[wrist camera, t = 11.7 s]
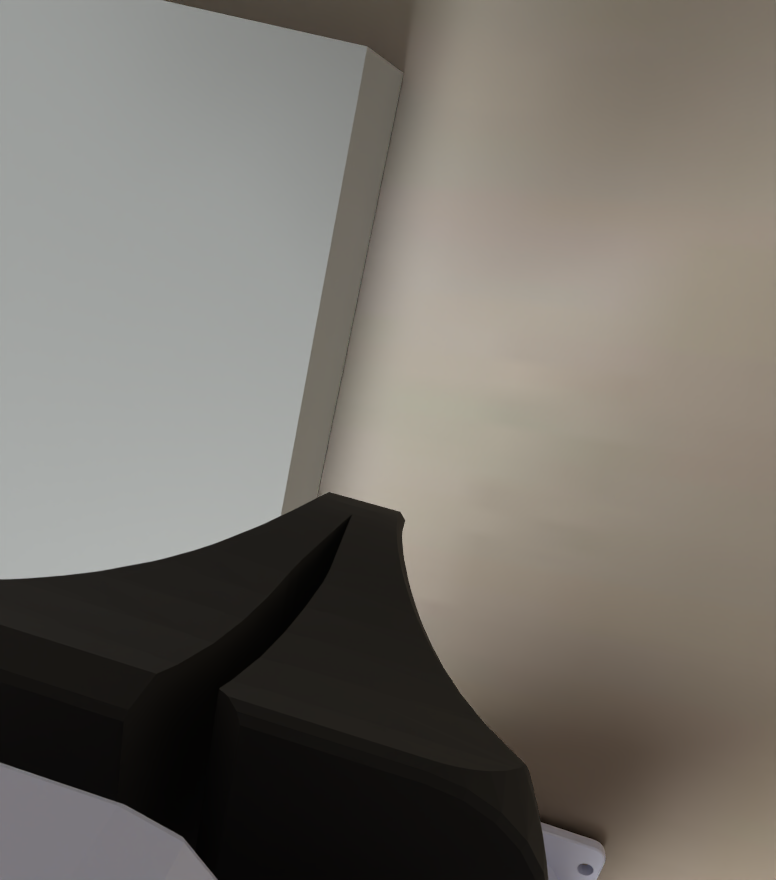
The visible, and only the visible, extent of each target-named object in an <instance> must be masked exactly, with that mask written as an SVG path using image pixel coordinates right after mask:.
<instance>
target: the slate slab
mask: <svg viewBox="0 0 776 880" xmlns="http://www.w3.org/2000/svg"><path fill="white" fill-rule="evenodd" d="M403 74H404V73H403V72H402V71H400V70H399V69H397V68H396V67H395V66H393V65H392V64H391V63H389V62H388V61H387V60H385V59H384V58H382V57H381V56H380V55H378V54H377V53H376V52H374V51H373V50H372V49H370V48H369V47H367V46H363V45H359V44H354V43H350V42H345V41H341V40H337V39H332V38H328V37H323V36H319V35H314V34H310V33H306V32H301V31H297V30H292V29H288V28H283V27H279V26H275V25H270V24H266V23H261V22H257V21H252V20H248V19H243V18H239V17H235V16H230V15H226V14H221V13H217V12H212V11H208V10H204V9H199V8H195V7H190V6H186V5H181V4H177V3H173V2H168V1H164V0H0V579H23V578H38V577H50V576H63V575H71V574H80V573H88V572H96V571H103V570H108V569H113V568H119V567H124V566H129V565H135V564H140V563H146V562H151V561H156V560H160V559H164V558H168V557H172V556H175V555H179V554H182V553H186V552H190V551H193V550H196V549H200V548H203V547H206V546H209V545H212V544H215V543H218V542H220V541H223V540H225V539H228V538H230V537H233V536H235V535H238V534H240V533H243V532H245V531H248V530H250V529H253V528H255V527H258V526H260V525H262V524H265V523H267V522H269V521H271V520H273V519H275V518H277V517H279V516H281V515H284V514H286V513H288V512H290V511H292V510H294V509H296V508H298V507H300V506H302V505H304V504H306V503H308V502H310V501H312V500H314V499H316V498H317V495H318V491H319V486H320V481H321V476H322V471H323V466H324V461H325V456H326V451H327V447H328V442H329V437H330V432H331V427H332V422H333V417H334V412H335V407H336V402H337V398H338V393H339V388H340V383H341V378H342V373H343V368H344V363H345V358H346V353H347V349H348V344H349V339H350V334H351V329H352V324H353V319H354V314H355V309H356V304H357V300H358V295H359V290H360V285H361V280H362V275H363V270H364V265H365V260H366V256H367V251H368V246H369V241H370V236H371V231H372V226H373V221H374V216H375V211H376V207H377V202H378V197H379V192H380V187H381V182H382V177H383V172H384V167H385V162H386V158H387V153H388V148H389V143H390V138H391V133H392V128H393V123H394V118H395V113H396V109H397V104H398V99H399V94H400V89H401V84H402V79H403Z"/></svg>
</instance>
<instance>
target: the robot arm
mask: <svg viewBox="0 0 776 880" xmlns="http://www.w3.org/2000/svg"><path fill="white" fill-rule="evenodd" d="M404 522H405V519H404V518H403V516H402V514H401V512H399V511H395V510H391V509H388V508H384V507H381V506H377V505H373V504H370V503H366V502H363V501H359V500H355V499H352V498H348V497H344V496H341V495H337V494H334V493H330V492H329V493H326V494H324V495H322V496H320V497H318V498H316V499H314V500H312V501H310V502H308V503H306V504H304V505H302V506H300V507H298V508H296V509H294V510H292V511H290V512H288V513H286V514H284V515H281V516H279V517H277V518H275V519H273V520H271V521H269V522H267V523H265V524H262V525H260V526H258V527H255V528H253V529H250V530H248V531H245V532H243V533H240V534H238V535H235V536H233V537H230V538H228V539H225V540H223V541H220V542H218V543H215V544H212V545H209V546H206V547H203V548H200V549H196V550H193V551H190V552H186V553H182V554H179V555H175V556H172V557H168V558H164V559H160V560H156V561H151V562H146V563H140V564H135V565H129V566H124V567H119V568H113V569H108V570H103V571H96V572H88V573H80V574H71V575H63V576H50V577H38V578H23V579H0V880H597V878H598V876H599V874H600V872H601V870H602V868H603V866H604V864H605V859H606V857H605V850H604V847H603V846H602V845H601V844H600V842H598V841H596V840H593V839H590V838H587V837H584V836H581V835H578V834H575V833H572V832H569V831H566V830H563V829H560V828H557V827H554V826H551V825H548V824H545V823H542V822H540V816H539V811H538V807H537V802H536V798H535V794H534V789H533V785H532V781H531V777H530V773H529V770H528V768H527V766H526V765H525V764H524V763H523V762H522V761H521V760H520V759H519V758H518V757H517V756H516V755H515V754H514V753H513V752H512V751H511V750H510V749H509V748H508V747H507V746H506V745H505V744H504V743H503V742H502V741H501V740H500V739H499V738H498V737H497V736H496V735H495V734H494V733H493V732H492V731H491V730H490V729H489V728H488V727H487V726H486V724H485V723H484V722H483V721H482V720H481V719H480V717H479V716H478V715H477V714H476V713H475V711H474V710H473V709H472V708H471V706H470V705H469V704H468V703H467V701H466V700H465V699H464V698H463V696H462V695H461V694H460V692H459V691H458V689H457V688H456V686H455V685H454V683H453V681H452V680H451V678H450V677H449V675H448V674H447V672H446V671H445V669H444V668H443V666H442V664H441V662H440V660H439V658H438V656H437V655H436V653H435V651H434V649H433V647H432V645H431V643H430V641H429V638H428V636H427V634H426V632H425V629H424V627H423V625H422V622H421V620H420V617H419V614H418V611H417V609H416V605H415V602H414V599H413V596H412V592H411V589H410V585H409V581H408V577H407V571H406V566H405V561H404V555H403V546H402V531H403V527H404ZM583 863H584V864H589V865H582V864H583Z"/></svg>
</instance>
